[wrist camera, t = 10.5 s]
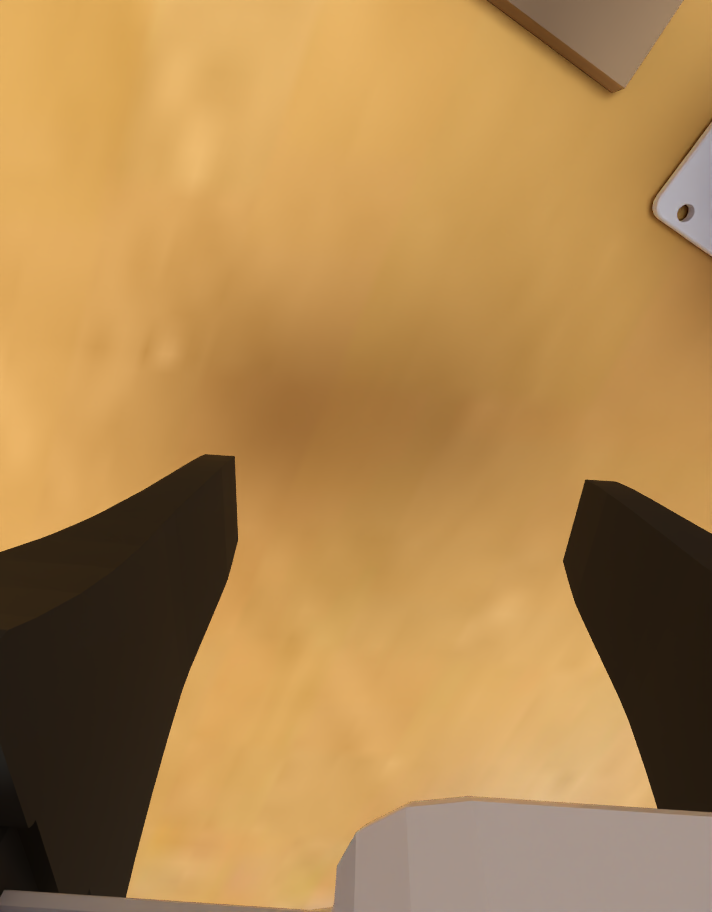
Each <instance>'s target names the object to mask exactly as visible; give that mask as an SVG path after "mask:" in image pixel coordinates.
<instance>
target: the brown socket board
mask: <svg viewBox="0 0 712 912" xmlns="http://www.w3.org/2000/svg"><path fill="white" fill-rule="evenodd" d="M488 1H489V2H491V3H492V4H493V5H495V6H496V7H497V8H499V9H500V10H501V11H503V12H504V13H505V14H507V15H508V16H509V17H511V18H512V19H514V20H515V21H516V22H518V23H519V24H520V25H522V26H523V27H524V28H526V29H527V30H528V31H530V32H531V33H532V34H534V35H535V36H536V37H538V38H539V39H540V40H542V41H543V42H545V43H546V44H547V45H549V46H550V47H551V48H553V49H554V50H555V51H557V52H558V53H559V54H561V55H562V56H563V57H565V58H566V59H567V60H569V61H570V62H571V63H573V64H574V65H576V66H577V67H578V68H580V69H581V70H582V71H584V72H585V73H586V74H588V75H589V76H590V77H592V78H593V79H594V80H596V81H597V82H598V83H600V84H601V85H602V86H604V87H605V88H606V89H608V90H609V91H611V92H612V93H613V92H616V91H619V90H621V89H624V88H625V87H626V86H627V84H628V83H629V81H630V80H631V78H632V77H633V75H634V74H635V72H636V71H637V69H638V68H639V66H640V65H641V63H642V62H643V60H644V59H645V57H646V56H647V54H648V53H649V51H650V50H651V48H652V47H653V45H654V44H655V42H656V41H657V39H658V38H659V36H660V35H661V33H662V32H663V30H664V29H665V27H666V26H667V24H668V23H669V21H670V20H671V18H672V17H673V15H674V14H675V12H676V11H677V9H678V8H679V6H680V5H681V3H682V2H683V0H488Z"/></svg>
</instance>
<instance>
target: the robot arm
mask: <svg viewBox="0 0 712 912" xmlns="http://www.w3.org/2000/svg"><path fill="white" fill-rule="evenodd" d="M685 204H686V205H687V206H688V211H689V212H688V214H687V216H686V217H685V218H684V219H683V220H681V221H679V220H678V218H677V212H678V210H679V208H680V207H682V206H683V205H685ZM652 209H653V213H654V215H655V216H656V217H657V219H659V220H660V221H662V222H663V223H664V224H666V225H667V226H669V227H670V228H672V229H673V230H674V231H676V232H677V233H679V234H680V235H682V236H683V237H684V238H686V239H687V240H689V241H690V242H691V243H693V244H694V245H696V246H697V247H699V248H700V249H701V250H703V251H704V252H706V253H707V254H709V255H710V256H711V257H712V122H711V123H710V125H709V126H708V127H707V129H706V130H705V131H704V133H703V134H702V135H701V137H700V138H699V139H698V141H697V142H696V143H695V145H694V146H693V148H692V149H691V150H690V152H689V153H688V154H687V156H686V157H685V158H684V160H683V161H682V162H681V164H680V165H679V166H678V168H677V169H676V170H675V172H674V173H673V174H672V176H671V177H670V178H669V180H668V181H667V182H666V184H665V185H664V186H663V188H662V189H661V190H660V192H659V193H658V194H657V196H656V198H655V200H654V201H653V207H652ZM237 542H238V526H237V502H236V478H235V456H222V455H207V454H205V455H203V456H200V457H198V458H197V459H195V460H193V461H191V462H189V463H188V464H186V465H184V466H183V467H181V468H179V469H178V470H176V471H174V472H173V473H171V474H170V475H168V476H166V477H164V478H163V479H161V480H159V481H158V482H156V483H154V484H153V485H151V486H149V487H148V488H146V489H144V490H143V491H141V492H139V493H137V494H135V495H133V496H131V497H130V498H128V499H126V500H124V501H122V502H120V503H118V504H116V505H115V506H113V507H111V508H109V509H107V510H105V511H103V512H101V513H99V514H97V515H95V516H93V517H91V518H89V519H86V520H84V521H82V522H80V523H78V524H75V525H73V526H70V527H68V528H66V529H63V530H61V531H58V532H56V533H54V534H51V535H49V536H46V537H43V538H41V539H38V540H35V541H32V542H29V543H26V544H23V545H20V546H17V547H14V548H11V549H8V550H5V551H2V552H0V912H712V534H711V533H709V532H708V531H706V530H704V529H702V528H700V527H699V526H697V525H695V524H693V523H692V522H690V521H688V520H686V519H685V518H683V517H681V516H679V515H678V514H676V513H674V512H673V511H671V510H669V509H667V508H666V507H664V506H662V505H660V504H659V503H657V502H655V501H653V500H652V499H650V498H648V497H646V496H644V495H642V494H641V493H639V492H637V491H635V490H633V489H631V488H629V487H627V486H625V485H622V484H620V483H618V482H613V481H598V480H585V483H584V487H583V490H582V494H581V498H580V501H579V505H578V509H577V512H576V516H575V519H574V523H573V527H572V530H571V534H570V538H569V541H568V545H567V549H566V552H565V556H564V559H563V563H564V567H565V570H566V574H567V578H568V581H569V585H570V588H571V591H572V595H573V598H574V601H575V604H576V606H577V608H578V611H579V613H580V615H581V617H582V619H583V622H584V624H585V626H586V628H587V630H588V632H589V635H590V637H591V639H592V641H593V643H594V645H595V647H596V650H597V652H598V654H599V656H600V658H601V660H602V662H603V664H604V667H605V669H606V671H607V673H608V675H609V677H610V679H611V681H612V684H613V686H614V688H615V690H616V692H617V694H618V696H619V699H620V701H621V703H622V706H623V708H624V711H625V713H626V715H627V718H628V720H629V723H630V726H631V729H632V732H633V735H634V737H635V740H636V743H637V746H638V749H639V752H640V755H641V758H642V761H643V764H644V767H645V769H646V773H647V776H648V779H649V782H650V785H651V789H652V792H653V795H654V798H655V802H656V805H657V808H658V809H653V808H638V807H623V806H608V805H593V804H578V803H563V802H548V801H533V800H518V799H503V798H488V797H473V796H465V797H455V798H445V799H434V800H424V801H414V802H409V803H407V804H405V805H403V806H401V807H399V808H397V809H395V810H393V811H391V812H389V813H387V814H385V815H383V816H381V817H379V818H377V819H375V820H373V821H371V822H369V823H367V824H366V825H365V826H363V827H362V828H361V829H360V830H358V831H357V832H356V833H355V835H354V837H353V839H352V840H351V842H350V844H349V846H348V848H347V849H346V851H345V853H344V855H343V856H342V858H341V860H340V862H339V864H338V865H337V873H336V886H335V899H334V905H333V907H330V908H322V909H315V910H301V909H286V908H271V907H256V906H241V905H226V904H211V903H196V902H181V901H166V900H151V899H137V898H126V894H127V890H128V886H129V882H130V878H131V874H132V869H133V865H134V861H135V857H136V853H137V850H138V846H139V842H140V838H141V834H142V830H143V827H144V823H145V819H146V815H147V811H148V808H149V804H150V800H151V796H152V792H153V789H154V785H155V782H156V778H157V775H158V771H159V767H160V764H161V760H162V757H163V753H164V750H165V746H166V743H167V739H168V736H169V732H170V729H171V726H172V722H173V719H174V716H175V712H176V709H177V706H178V702H179V699H180V696H181V693H182V689H183V687H184V684H185V681H186V679H187V676H188V673H189V671H190V668H191V666H192V663H193V661H194V659H195V656H196V654H197V651H198V649H199V647H200V644H201V642H202V640H203V637H204V635H205V633H206V630H207V628H208V625H209V623H210V621H211V618H212V616H213V614H214V611H215V609H216V607H217V604H218V602H219V599H220V597H221V594H222V592H223V590H224V587H225V585H226V582H227V580H228V576H229V573H230V569H231V565H232V562H233V558H234V554H235V550H236V546H237Z"/></svg>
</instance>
